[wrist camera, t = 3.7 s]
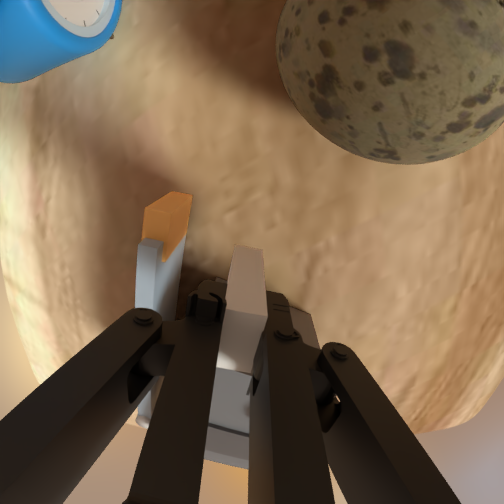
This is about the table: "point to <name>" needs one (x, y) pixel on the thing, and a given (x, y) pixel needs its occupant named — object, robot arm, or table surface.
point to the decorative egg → (395, 74)
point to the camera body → (240, 404)
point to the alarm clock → (51, 33)
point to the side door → (160, 270)
